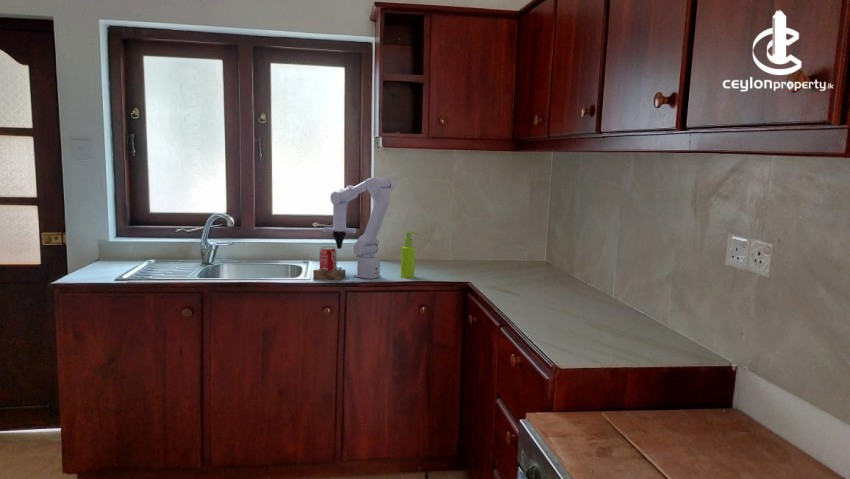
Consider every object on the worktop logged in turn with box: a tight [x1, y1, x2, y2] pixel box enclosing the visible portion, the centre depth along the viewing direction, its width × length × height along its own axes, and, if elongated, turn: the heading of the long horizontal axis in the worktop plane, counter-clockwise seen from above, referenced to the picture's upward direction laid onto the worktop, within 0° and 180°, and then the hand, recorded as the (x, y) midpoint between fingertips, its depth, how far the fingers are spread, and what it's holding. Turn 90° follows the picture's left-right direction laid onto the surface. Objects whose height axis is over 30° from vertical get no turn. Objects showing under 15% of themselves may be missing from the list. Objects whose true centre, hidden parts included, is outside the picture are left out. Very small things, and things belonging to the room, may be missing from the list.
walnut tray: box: [312, 268, 346, 282], centre depth 250 cm, size 11×10×4 cm
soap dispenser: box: [400, 230, 419, 279], centre depth 257 cm, size 6×7×20 cm
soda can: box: [319, 246, 338, 271], centre depth 250 cm, size 7×7×13 cm
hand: (339, 248), depth 265 cm, fingers closed
